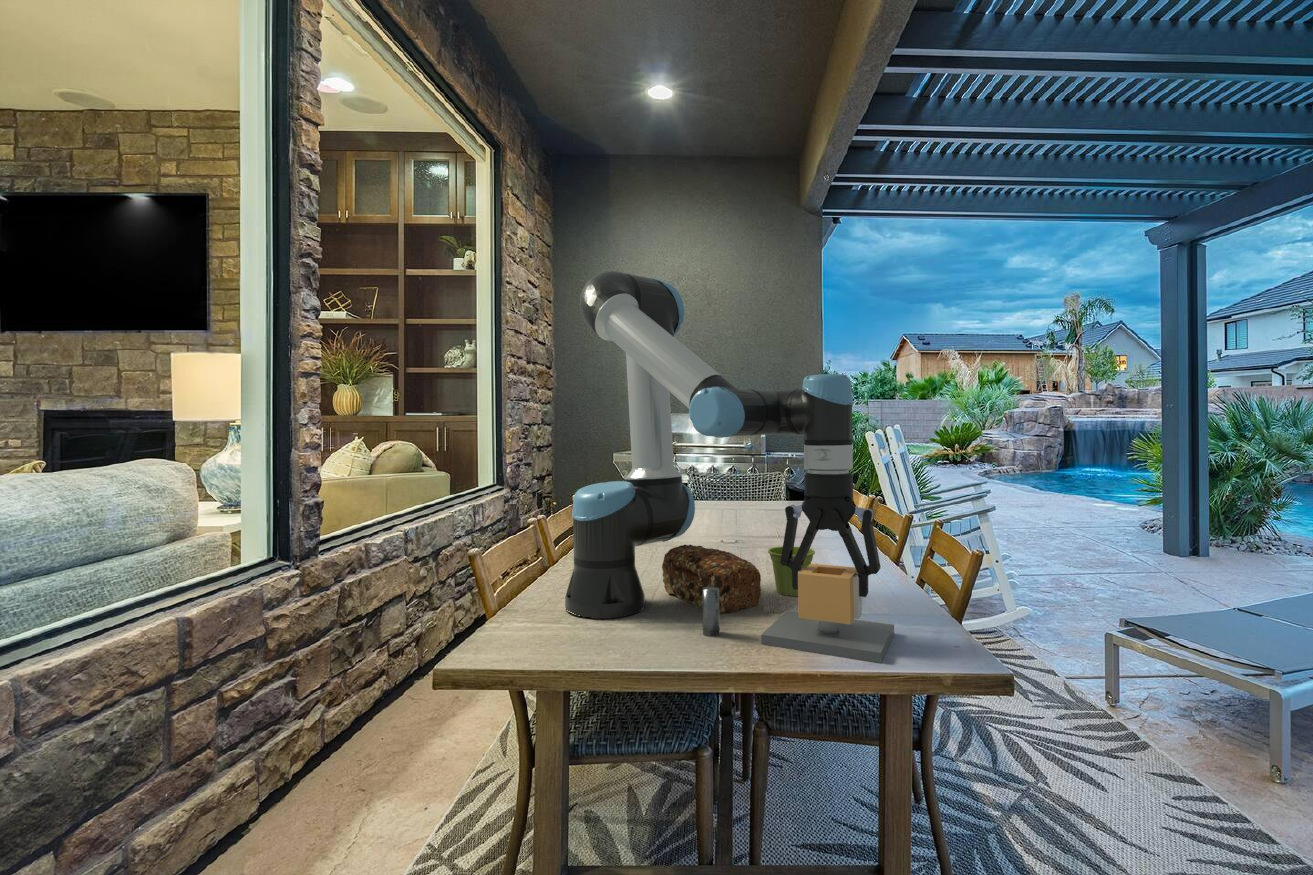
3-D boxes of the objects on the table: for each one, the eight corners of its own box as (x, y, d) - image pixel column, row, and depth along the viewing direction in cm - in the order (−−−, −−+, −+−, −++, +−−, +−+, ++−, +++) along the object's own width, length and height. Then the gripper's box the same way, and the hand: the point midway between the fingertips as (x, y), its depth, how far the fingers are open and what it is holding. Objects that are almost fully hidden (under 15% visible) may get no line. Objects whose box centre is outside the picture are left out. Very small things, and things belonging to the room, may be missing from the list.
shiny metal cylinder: (700, 634, 105) (699, 589, 105) (706, 629, 108) (706, 585, 107) (715, 637, 104) (715, 591, 104) (722, 632, 106) (721, 587, 106)
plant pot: (759, 590, 132) (758, 548, 132) (796, 584, 136) (795, 544, 136) (786, 601, 124) (786, 557, 123) (825, 595, 128) (824, 552, 127)
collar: (798, 617, 101) (797, 573, 101) (811, 604, 108) (810, 563, 108) (850, 624, 97) (849, 578, 97) (860, 610, 104) (859, 567, 104)
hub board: (761, 643, 101) (761, 596, 100) (786, 618, 113) (786, 576, 113) (880, 663, 92) (880, 611, 92) (894, 633, 105) (894, 587, 104)
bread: (661, 594, 130) (660, 545, 130) (701, 585, 137) (700, 539, 136) (722, 616, 115) (721, 561, 115) (764, 605, 121) (763, 553, 121)
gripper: (758, 471, 103) (759, 611, 104) (894, 475, 94) (895, 628, 94) (772, 468, 110) (774, 599, 111) (900, 471, 100) (901, 614, 101)
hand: (829, 612), depth 102 cm, fingers closed on collar, 8 cm apart
